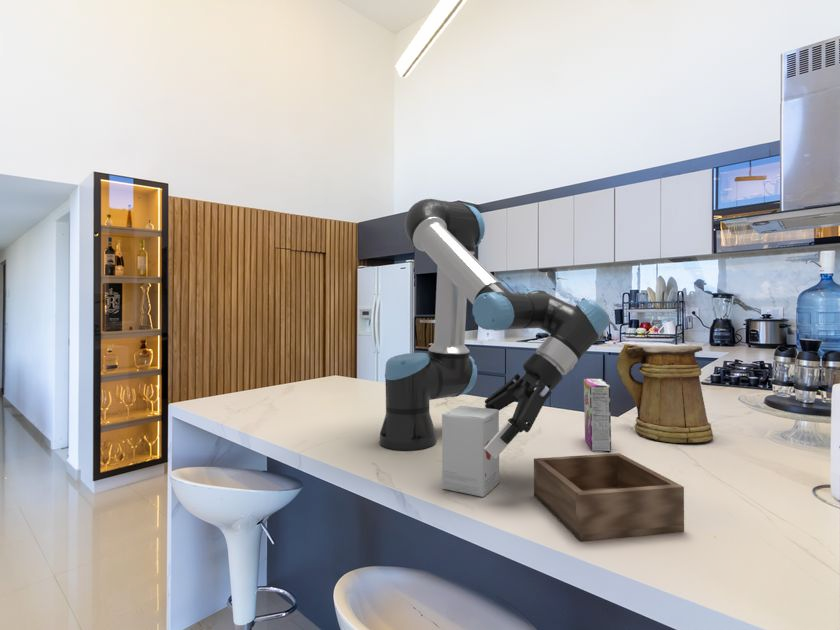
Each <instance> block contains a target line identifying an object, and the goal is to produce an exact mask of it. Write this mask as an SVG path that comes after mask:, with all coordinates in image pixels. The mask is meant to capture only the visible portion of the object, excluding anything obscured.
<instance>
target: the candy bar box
mask: <svg viewBox="0 0 840 630" xmlns="http://www.w3.org/2000/svg"><path fill="white" fill-rule="evenodd" d="M583 403H584V404H583V406H584V409H583V410H584V412H583V413H584V439H585V441H586V443H587V445H588V447H589V448H590V451H591V452H595V451H610V452H609V453H611V452H612V424H611V422H612V421H611V416H612V415H611V413H612V412H611V386H610V384H608V383H607V382H606V381H605V380H604V379H602V378H584V379H583Z"/></svg>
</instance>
